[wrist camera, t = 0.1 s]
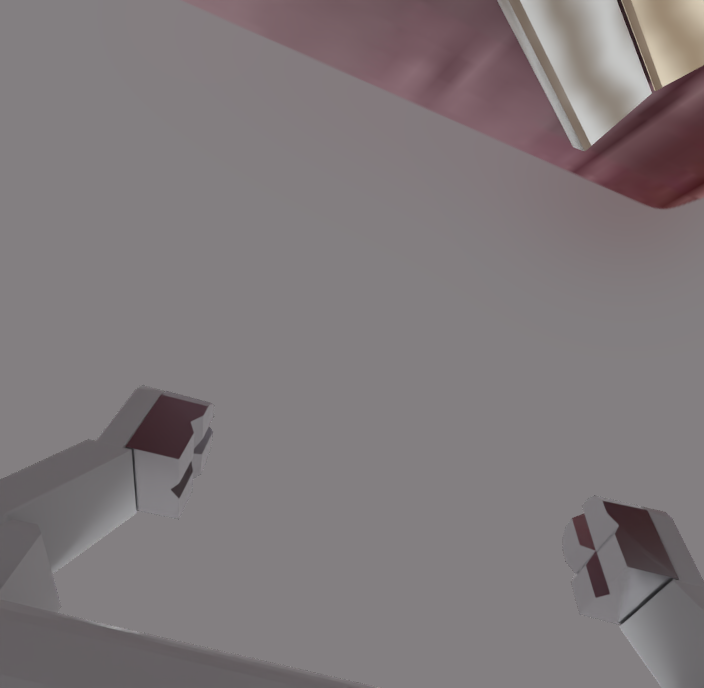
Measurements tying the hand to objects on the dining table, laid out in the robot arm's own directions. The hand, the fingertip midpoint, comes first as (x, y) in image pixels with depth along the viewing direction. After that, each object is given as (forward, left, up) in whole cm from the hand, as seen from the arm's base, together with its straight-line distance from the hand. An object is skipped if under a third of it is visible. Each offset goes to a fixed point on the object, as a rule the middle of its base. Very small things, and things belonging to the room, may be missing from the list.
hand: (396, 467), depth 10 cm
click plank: (-2, +13, -50) cm, 51 cm away
